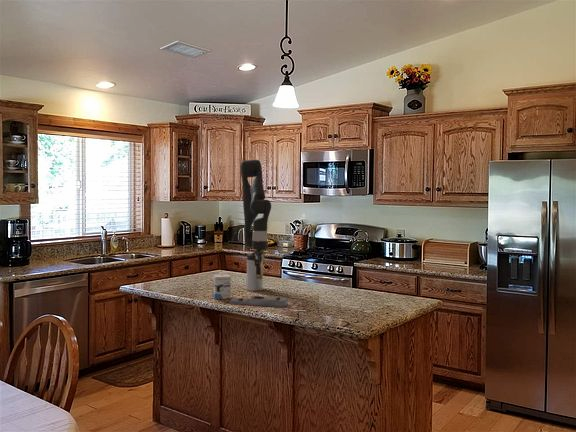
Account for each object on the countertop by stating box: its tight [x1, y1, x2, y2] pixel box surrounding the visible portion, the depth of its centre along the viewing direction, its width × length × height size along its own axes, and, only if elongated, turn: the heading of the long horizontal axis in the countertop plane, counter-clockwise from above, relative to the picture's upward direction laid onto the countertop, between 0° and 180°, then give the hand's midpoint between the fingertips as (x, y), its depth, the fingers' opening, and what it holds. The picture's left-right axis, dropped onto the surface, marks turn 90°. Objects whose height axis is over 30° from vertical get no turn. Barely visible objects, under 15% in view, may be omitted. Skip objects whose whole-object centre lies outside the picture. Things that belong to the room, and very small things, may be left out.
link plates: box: [229, 295, 289, 308], centre depth 261 cm, size 7×28×4 cm, turn 80°
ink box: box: [212, 274, 232, 300], centre depth 274 cm, size 8×5×12 cm, turn 105°
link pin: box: [256, 258, 265, 279], centre depth 260 cm, size 4×4×10 cm
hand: (259, 273), depth 261 cm, fingers closed on link pin, 3 cm apart
